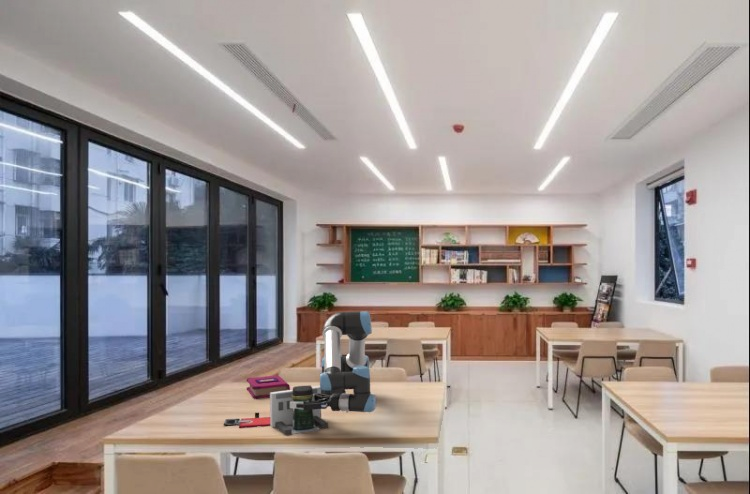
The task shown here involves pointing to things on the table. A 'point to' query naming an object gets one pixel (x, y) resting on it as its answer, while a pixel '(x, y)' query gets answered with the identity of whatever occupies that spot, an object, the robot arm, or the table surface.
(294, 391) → the coffee jar
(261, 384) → the book
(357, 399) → the robot arm
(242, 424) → the red board with handle
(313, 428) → the pad
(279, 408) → the breaker panel
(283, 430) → the cord cover
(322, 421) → the cord cover
